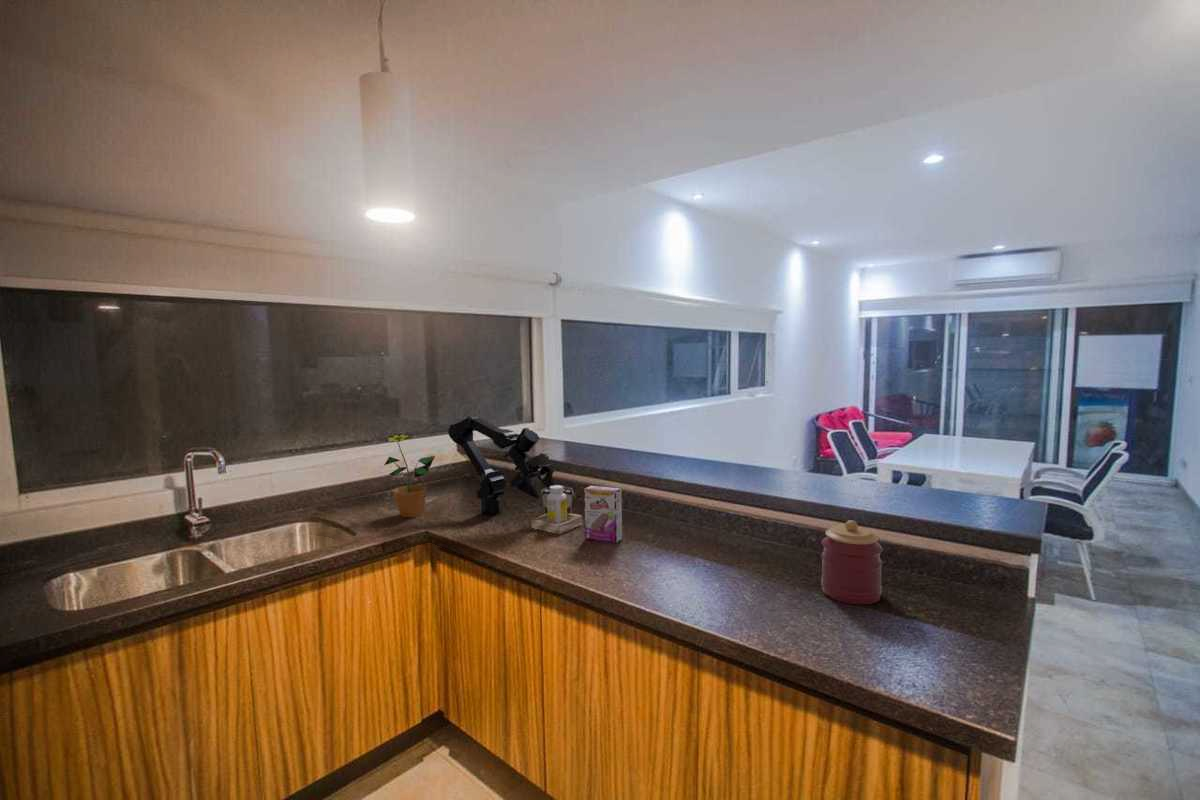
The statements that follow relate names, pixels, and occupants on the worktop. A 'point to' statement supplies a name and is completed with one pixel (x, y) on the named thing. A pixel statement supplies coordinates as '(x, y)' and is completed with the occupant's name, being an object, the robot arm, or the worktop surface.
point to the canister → (851, 564)
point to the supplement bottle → (556, 505)
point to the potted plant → (410, 495)
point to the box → (544, 525)
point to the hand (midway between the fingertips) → (546, 494)
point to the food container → (566, 491)
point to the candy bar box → (603, 514)
